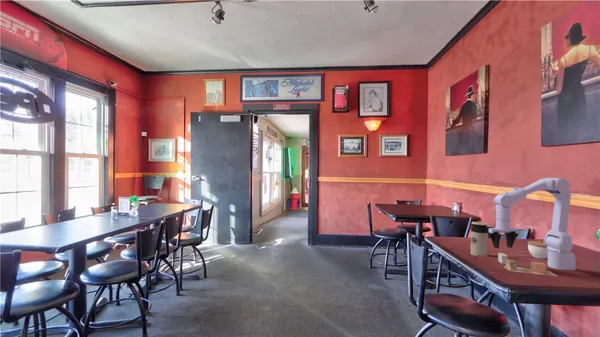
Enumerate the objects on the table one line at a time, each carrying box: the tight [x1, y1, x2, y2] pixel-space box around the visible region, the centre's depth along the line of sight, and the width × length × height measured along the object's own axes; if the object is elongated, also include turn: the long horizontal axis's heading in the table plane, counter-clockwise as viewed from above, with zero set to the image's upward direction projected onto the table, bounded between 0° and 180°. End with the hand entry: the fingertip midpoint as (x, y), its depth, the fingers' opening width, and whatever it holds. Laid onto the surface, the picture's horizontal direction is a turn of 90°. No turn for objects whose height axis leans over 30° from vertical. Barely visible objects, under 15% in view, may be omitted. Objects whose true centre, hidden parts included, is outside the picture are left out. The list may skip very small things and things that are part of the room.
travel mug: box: [470, 221, 489, 258], centre depth 158 cm, size 8×8×18 cm
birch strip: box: [503, 258, 558, 277], centre depth 131 cm, size 18×7×5 cm, turn 72°
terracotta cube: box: [530, 261, 547, 274], centre depth 130 cm, size 4×4×4 cm
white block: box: [497, 252, 509, 265], centre depth 141 cm, size 18×7×5 cm, turn 72°
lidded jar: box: [527, 239, 548, 260], centre depth 157 cm, size 11×11×9 cm
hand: (502, 247), depth 138 cm, fingers open, 7 cm apart
